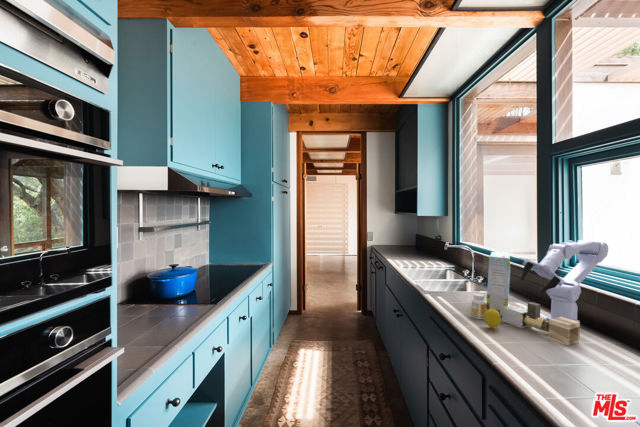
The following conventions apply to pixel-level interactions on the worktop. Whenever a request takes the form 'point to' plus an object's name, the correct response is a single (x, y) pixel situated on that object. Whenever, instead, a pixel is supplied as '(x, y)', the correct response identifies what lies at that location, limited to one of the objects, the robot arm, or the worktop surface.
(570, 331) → the socket block
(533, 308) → the tube
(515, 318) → the sleeve
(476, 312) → the supplement bottle
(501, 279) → the snack box
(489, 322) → the lemon
